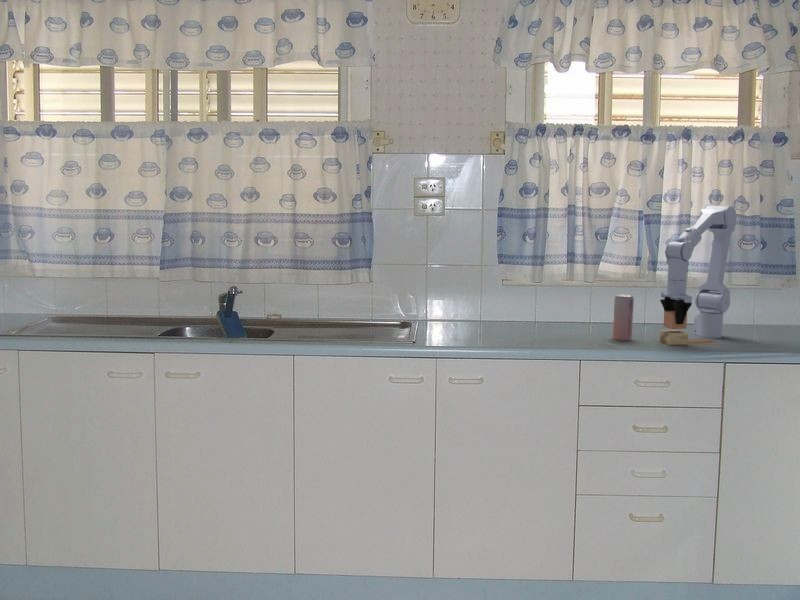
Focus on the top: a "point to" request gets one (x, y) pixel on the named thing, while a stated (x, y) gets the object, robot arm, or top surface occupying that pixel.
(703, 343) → the base plate
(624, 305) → the beverage can
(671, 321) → the terracotta block
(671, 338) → the birch block
